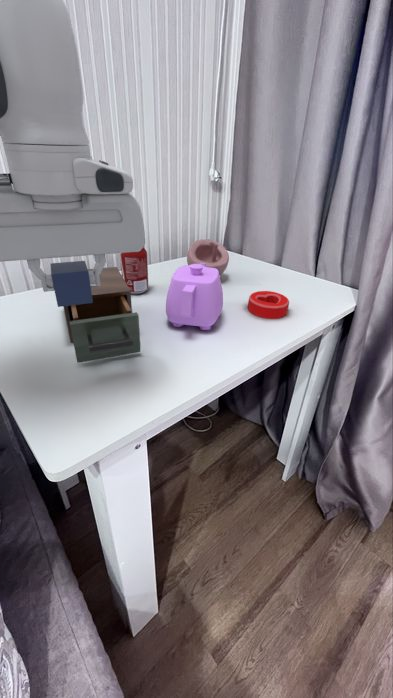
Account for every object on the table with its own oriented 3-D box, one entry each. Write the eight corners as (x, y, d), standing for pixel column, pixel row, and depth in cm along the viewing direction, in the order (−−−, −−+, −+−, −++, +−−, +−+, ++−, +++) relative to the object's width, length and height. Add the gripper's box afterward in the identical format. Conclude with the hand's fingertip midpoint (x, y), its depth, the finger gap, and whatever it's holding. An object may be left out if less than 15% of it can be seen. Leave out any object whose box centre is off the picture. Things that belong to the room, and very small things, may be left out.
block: (57, 307, 44) (51, 274, 41) (56, 294, 47) (50, 263, 45) (93, 303, 45) (88, 271, 43) (89, 290, 49) (84, 260, 46)
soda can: (151, 293, 87) (149, 248, 81) (125, 296, 85) (122, 250, 79) (145, 284, 92) (143, 240, 86) (120, 287, 90) (116, 242, 84)
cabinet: (133, 333, 70) (130, 290, 64) (70, 343, 65) (61, 298, 60) (120, 304, 81) (116, 266, 76) (65, 311, 77) (57, 271, 71)
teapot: (215, 344, 67) (220, 285, 60) (156, 336, 69) (154, 278, 62) (225, 303, 84) (230, 254, 77) (178, 298, 85) (178, 249, 79)
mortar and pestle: (194, 287, 92) (195, 246, 86) (181, 273, 101) (182, 234, 95) (233, 284, 95) (237, 243, 89) (217, 270, 105) (220, 233, 99)
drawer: (147, 366, 58) (145, 327, 54) (80, 379, 55) (72, 338, 50) (125, 320, 73) (123, 286, 68) (71, 327, 69) (64, 292, 65)
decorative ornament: (272, 322, 76) (274, 310, 74) (239, 308, 82) (241, 296, 80) (294, 311, 82) (297, 299, 80) (263, 298, 88) (264, 287, 86)
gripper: (-62, 176, 32) (-17, 306, 40) (145, 176, 39) (150, 288, 46) (-48, 170, 37) (-11, 287, 44) (134, 171, 44) (139, 272, 51)
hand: (72, 287), depth 45 cm, fingers closed on block, 4 cm apart
